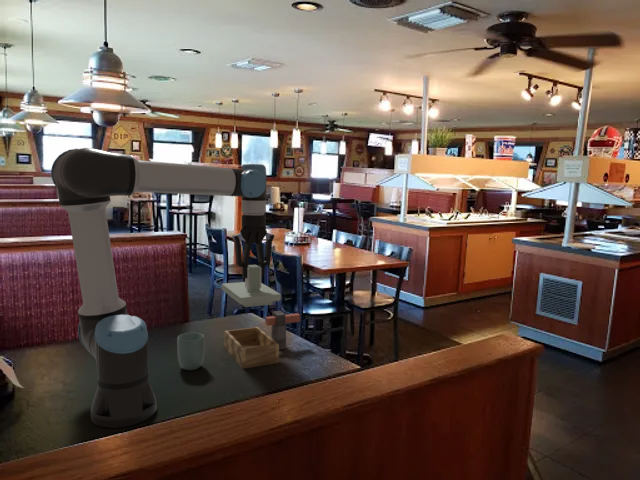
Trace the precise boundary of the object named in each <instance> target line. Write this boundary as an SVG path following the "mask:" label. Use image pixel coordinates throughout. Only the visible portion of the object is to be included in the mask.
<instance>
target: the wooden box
mask: <svg viewBox="0 0 640 480" xmlns="http://www.w3.org/2000/svg"><path fill="white" fill-rule="evenodd" d="M271 314H272V315H271V316H276V325H271V336H270V335H269V334H267V333H266V332H265V331H263V329H261V328H260V327H259V326H253V327H244V328H236V329H230V330H224V339H223V340H224V341H223V342H224V349H225V351H227V353H229V355H230V356H231V358H232V359H234V361H235V362H236V364H238V366H240V368H241V369H243V370H244V369H249V368H250V369H251V368H256V367H261V366H262V367H263V366H268V365H273V364H279V363H280V350H284V349H287V325H286V323H285V315H286V313H285V312H283V311H282V310H275V311H271Z"/></svg>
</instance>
